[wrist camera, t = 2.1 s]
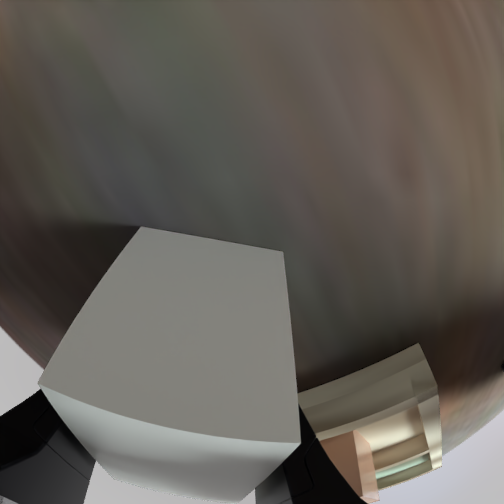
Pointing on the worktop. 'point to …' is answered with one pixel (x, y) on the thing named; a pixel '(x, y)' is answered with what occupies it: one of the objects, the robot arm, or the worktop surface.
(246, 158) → the worktop surface
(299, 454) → the robot arm
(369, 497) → the terracotta block
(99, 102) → the worktop surface
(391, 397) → the slot cradle
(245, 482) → the block
